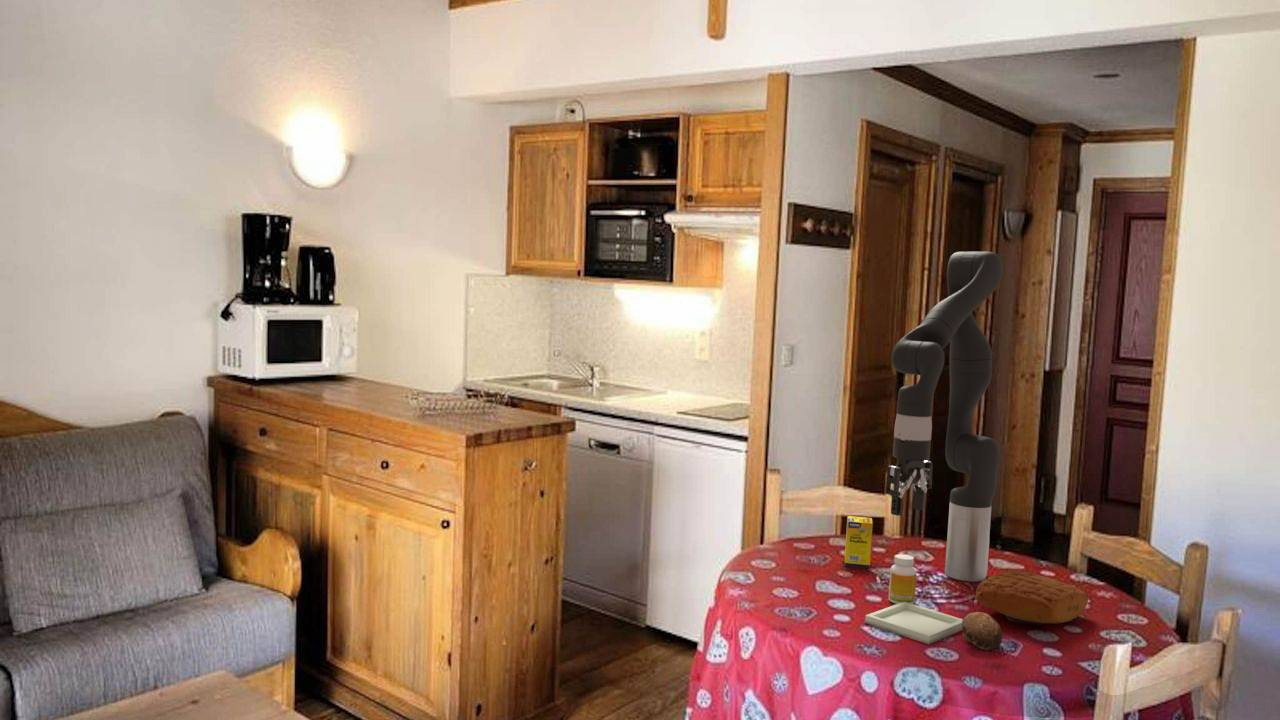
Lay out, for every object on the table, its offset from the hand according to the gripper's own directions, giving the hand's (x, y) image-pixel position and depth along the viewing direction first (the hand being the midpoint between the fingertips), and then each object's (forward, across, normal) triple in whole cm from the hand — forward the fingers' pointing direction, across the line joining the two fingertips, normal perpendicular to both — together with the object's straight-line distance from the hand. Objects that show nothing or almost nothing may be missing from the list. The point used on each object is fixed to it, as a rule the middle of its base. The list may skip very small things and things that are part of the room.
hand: (907, 512), depth 207 cm
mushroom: (+20, +10, +23) cm, 32 cm away
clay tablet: (+20, -13, +22) cm, 32 cm away
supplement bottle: (+20, 0, 0) cm, 20 cm away
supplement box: (+20, -16, -22) cm, 33 cm away
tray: (+19, +11, +10) cm, 24 cm away
